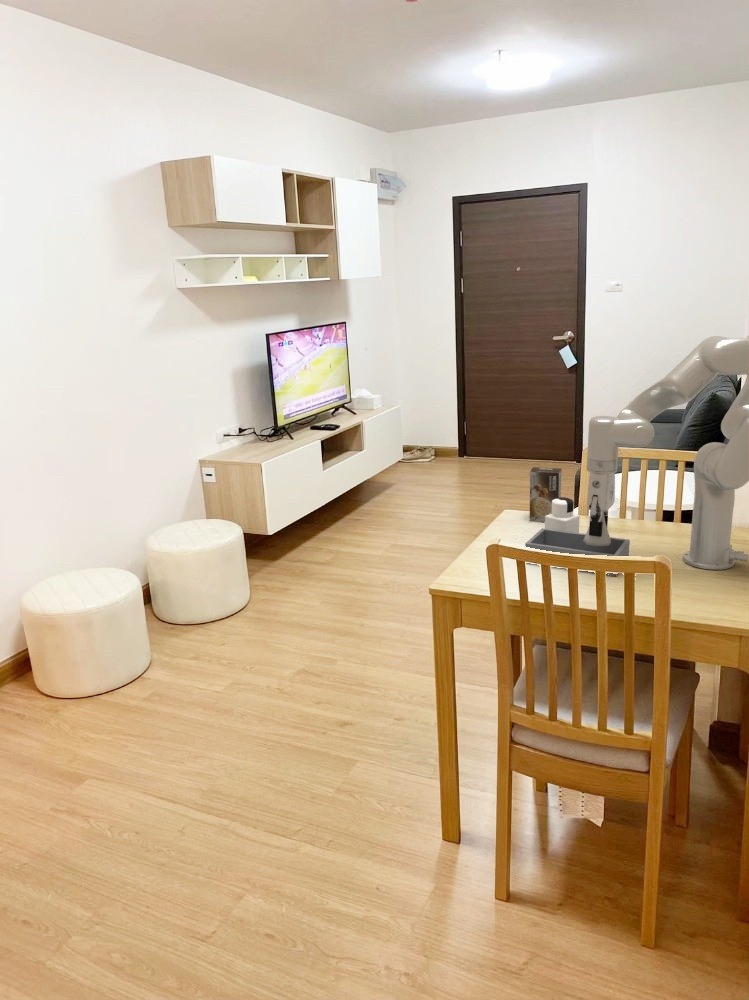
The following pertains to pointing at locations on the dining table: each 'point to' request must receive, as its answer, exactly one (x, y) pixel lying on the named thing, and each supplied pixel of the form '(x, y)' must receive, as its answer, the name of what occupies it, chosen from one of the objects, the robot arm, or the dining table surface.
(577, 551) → the box
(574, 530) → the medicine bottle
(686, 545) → the dining table surface
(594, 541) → the flask
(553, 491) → the coffee box
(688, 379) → the robot arm
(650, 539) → the dining table surface
